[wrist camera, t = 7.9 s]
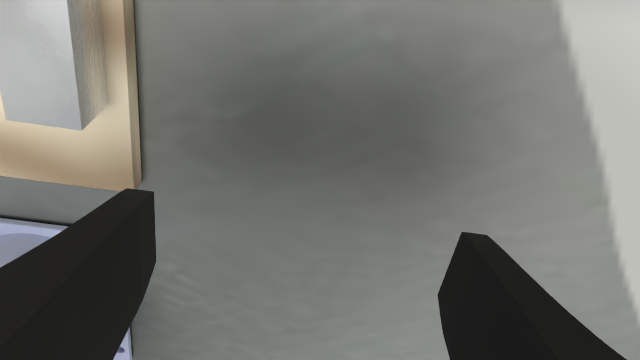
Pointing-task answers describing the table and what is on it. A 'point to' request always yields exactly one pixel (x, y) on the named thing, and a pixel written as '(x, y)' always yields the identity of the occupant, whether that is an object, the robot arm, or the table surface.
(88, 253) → the robot arm
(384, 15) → the table surface
